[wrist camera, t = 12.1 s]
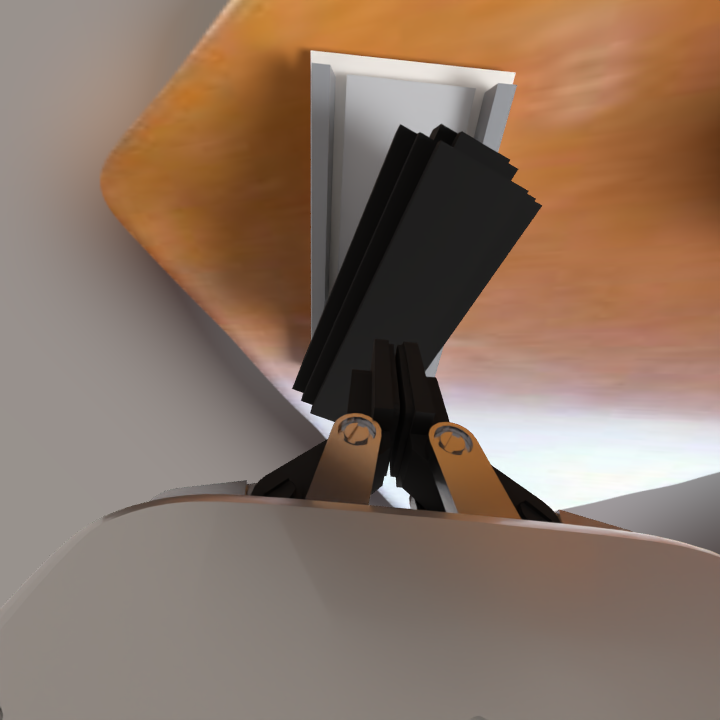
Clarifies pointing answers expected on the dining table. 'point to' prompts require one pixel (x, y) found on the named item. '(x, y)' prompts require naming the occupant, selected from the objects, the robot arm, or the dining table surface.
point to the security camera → (415, 257)
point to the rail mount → (382, 138)
